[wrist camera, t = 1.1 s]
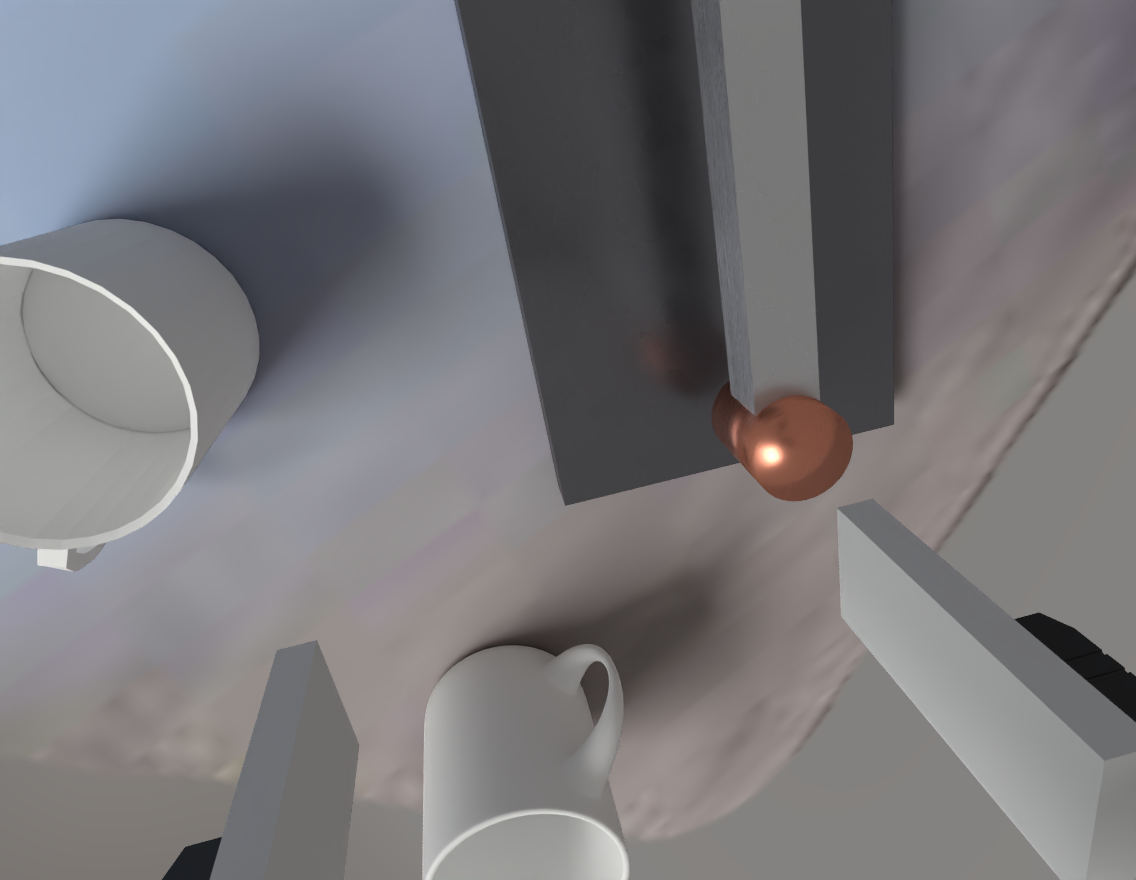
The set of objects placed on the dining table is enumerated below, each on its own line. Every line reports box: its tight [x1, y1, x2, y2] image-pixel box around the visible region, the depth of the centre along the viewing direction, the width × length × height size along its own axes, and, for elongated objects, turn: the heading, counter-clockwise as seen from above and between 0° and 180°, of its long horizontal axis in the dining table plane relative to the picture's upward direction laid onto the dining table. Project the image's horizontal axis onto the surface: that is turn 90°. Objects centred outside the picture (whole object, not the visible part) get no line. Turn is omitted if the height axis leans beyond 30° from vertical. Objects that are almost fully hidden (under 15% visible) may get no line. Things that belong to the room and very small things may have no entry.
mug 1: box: [0, 219, 259, 572], centre depth 26 cm, size 12×9×9 cm
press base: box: [454, 0, 894, 506], centre depth 28 cm, size 30×16×6 cm, turn 11°
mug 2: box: [422, 644, 630, 880], centre depth 35 cm, size 9×12×11 cm
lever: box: [691, 0, 853, 501], centre depth 23 cm, size 28×6×4 cm, turn 11°
